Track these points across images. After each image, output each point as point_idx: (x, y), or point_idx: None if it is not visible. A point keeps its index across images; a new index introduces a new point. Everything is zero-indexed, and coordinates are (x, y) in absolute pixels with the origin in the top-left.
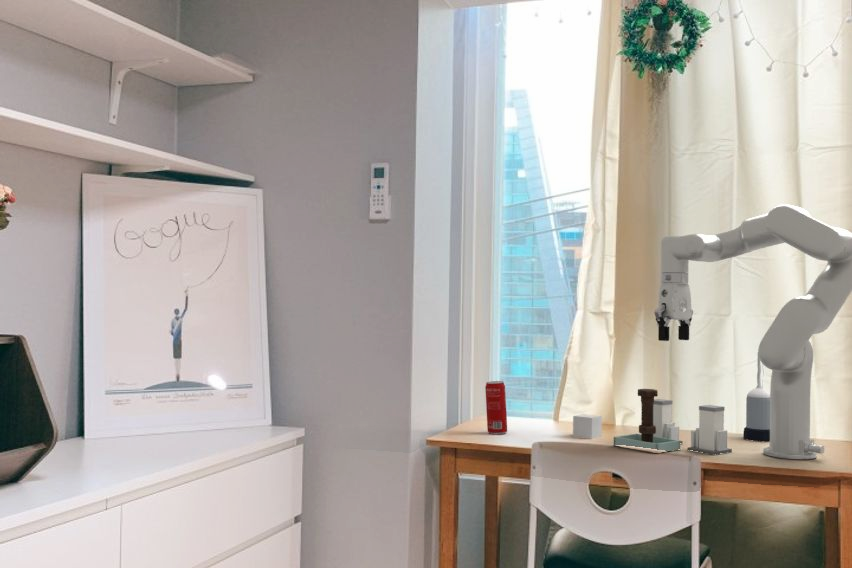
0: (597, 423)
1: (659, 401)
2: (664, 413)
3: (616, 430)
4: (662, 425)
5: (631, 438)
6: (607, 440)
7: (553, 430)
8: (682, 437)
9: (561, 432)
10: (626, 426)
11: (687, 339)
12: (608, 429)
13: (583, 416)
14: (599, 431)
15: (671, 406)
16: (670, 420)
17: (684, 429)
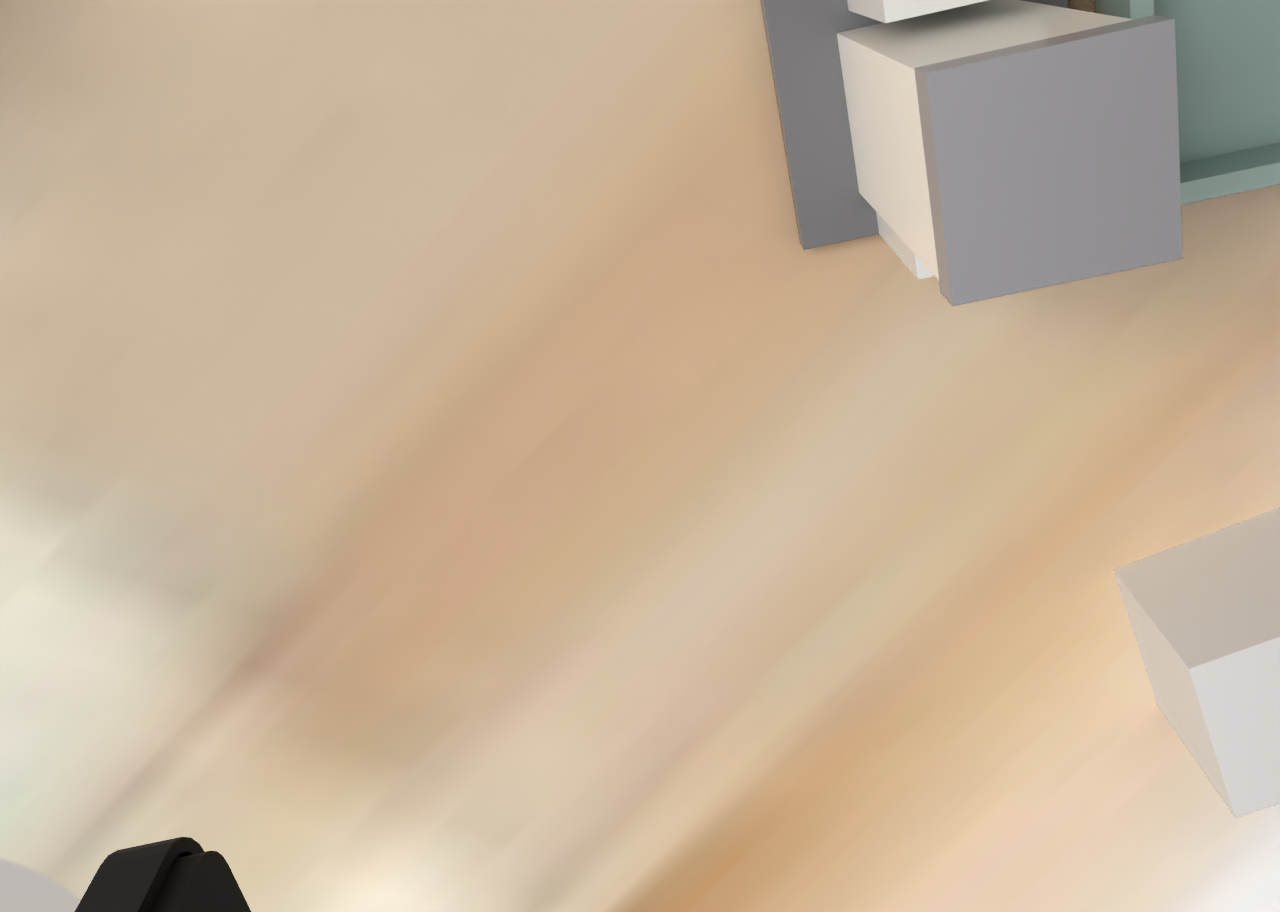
0: (1249, 602)
1: (1173, 70)
2: (1053, 24)
3: (756, 759)
4: (1045, 6)
5: (1237, 162)
6: (1234, 396)
7: (1219, 905)
8: (463, 277)
9: (1241, 820)
10: (528, 878)
11: (190, 855)
12: (781, 815)
13: None
14: (1173, 579)
15: (922, 65)
16: (901, 44)
17: (132, 615)
